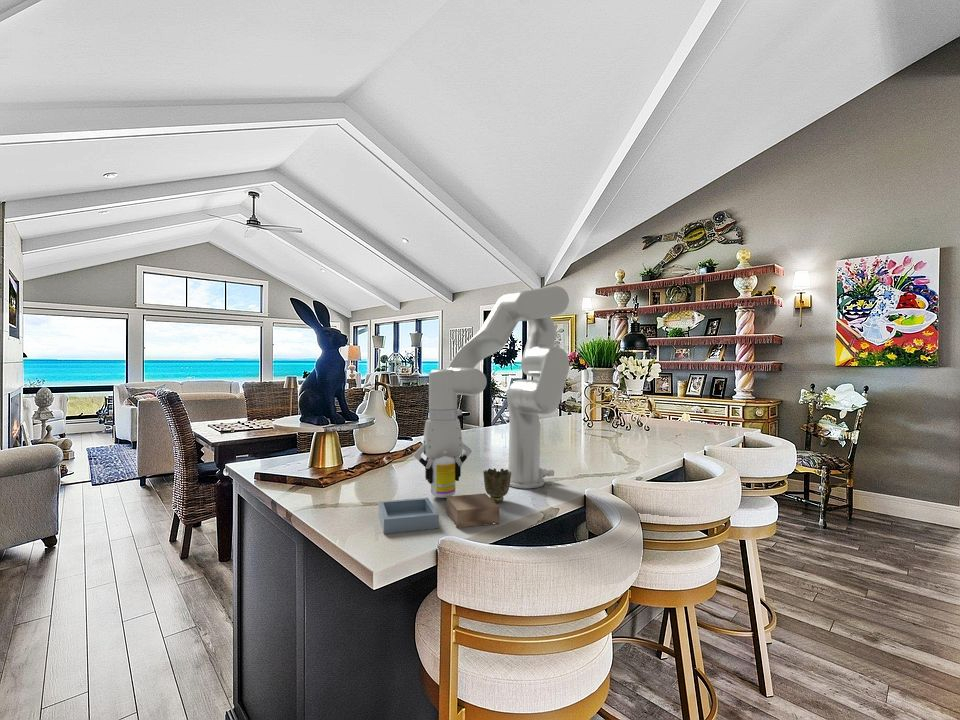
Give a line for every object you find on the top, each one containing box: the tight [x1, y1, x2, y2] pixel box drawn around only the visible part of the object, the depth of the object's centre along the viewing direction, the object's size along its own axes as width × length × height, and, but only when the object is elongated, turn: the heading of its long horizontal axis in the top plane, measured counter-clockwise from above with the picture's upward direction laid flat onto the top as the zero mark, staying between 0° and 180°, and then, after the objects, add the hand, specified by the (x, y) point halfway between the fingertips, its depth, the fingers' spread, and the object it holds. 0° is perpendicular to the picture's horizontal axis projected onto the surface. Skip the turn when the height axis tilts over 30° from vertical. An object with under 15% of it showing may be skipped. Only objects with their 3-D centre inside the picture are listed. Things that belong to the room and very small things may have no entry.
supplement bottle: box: [430, 451, 456, 498], centre depth 119 cm, size 7×7×13 cm
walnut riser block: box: [445, 493, 500, 528], centre depth 105 cm, size 10×10×4 cm
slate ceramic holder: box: [378, 497, 440, 535], centre depth 102 cm, size 12×12×3 cm
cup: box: [483, 468, 511, 504], centre depth 118 cm, size 8×7×8 cm
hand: (443, 480), depth 120 cm, fingers closed on supplement bottle, 6 cm apart
